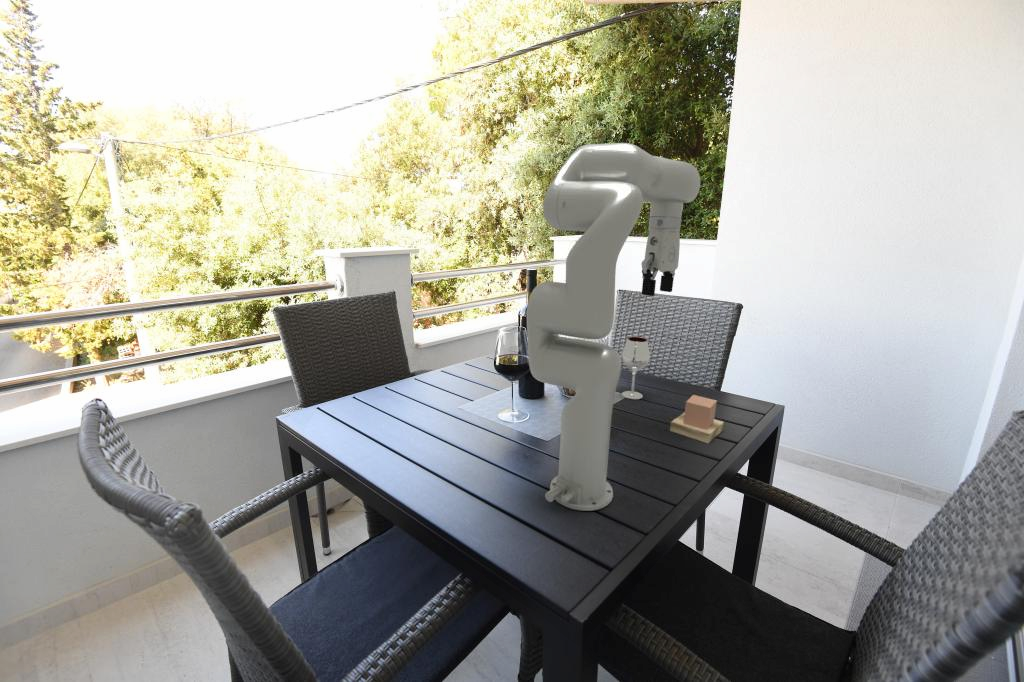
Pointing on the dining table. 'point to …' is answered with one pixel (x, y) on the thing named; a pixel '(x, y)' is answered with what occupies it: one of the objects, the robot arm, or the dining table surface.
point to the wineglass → (635, 361)
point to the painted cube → (700, 412)
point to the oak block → (696, 429)
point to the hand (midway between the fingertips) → (657, 293)
